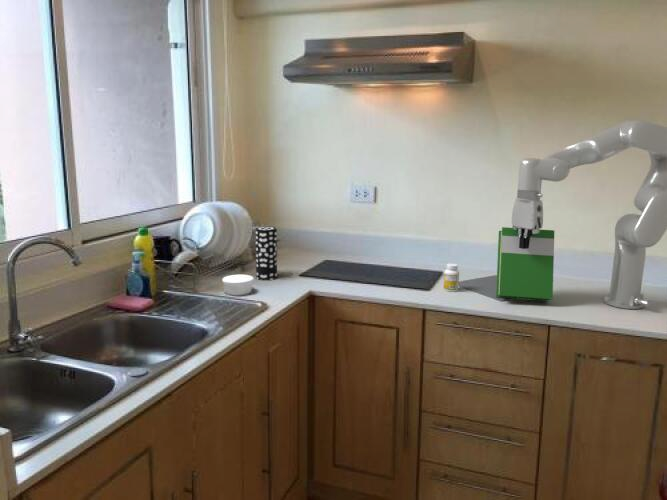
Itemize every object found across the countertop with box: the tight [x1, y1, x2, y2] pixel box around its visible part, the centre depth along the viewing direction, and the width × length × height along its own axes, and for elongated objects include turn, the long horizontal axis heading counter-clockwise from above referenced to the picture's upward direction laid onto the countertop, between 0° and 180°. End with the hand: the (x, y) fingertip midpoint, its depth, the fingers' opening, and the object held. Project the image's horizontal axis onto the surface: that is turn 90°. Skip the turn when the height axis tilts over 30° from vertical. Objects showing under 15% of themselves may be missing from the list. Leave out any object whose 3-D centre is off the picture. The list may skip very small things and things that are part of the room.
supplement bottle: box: [443, 263, 460, 292], centre depth 212 cm, size 5×5×10 cm
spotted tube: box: [254, 226, 278, 281], centre depth 225 cm, size 8×8×20 cm
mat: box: [458, 274, 517, 302], centre depth 217 cm, size 26×24×1 cm
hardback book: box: [496, 226, 555, 302], centre depth 201 cm, size 18×7×24 cm, turn 82°
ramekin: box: [221, 273, 255, 296], centre depth 207 cm, size 11×11×5 cm
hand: (523, 248), depth 196 cm, fingers closed
